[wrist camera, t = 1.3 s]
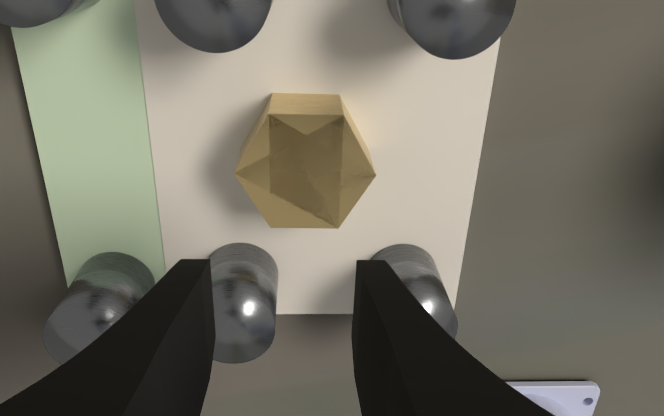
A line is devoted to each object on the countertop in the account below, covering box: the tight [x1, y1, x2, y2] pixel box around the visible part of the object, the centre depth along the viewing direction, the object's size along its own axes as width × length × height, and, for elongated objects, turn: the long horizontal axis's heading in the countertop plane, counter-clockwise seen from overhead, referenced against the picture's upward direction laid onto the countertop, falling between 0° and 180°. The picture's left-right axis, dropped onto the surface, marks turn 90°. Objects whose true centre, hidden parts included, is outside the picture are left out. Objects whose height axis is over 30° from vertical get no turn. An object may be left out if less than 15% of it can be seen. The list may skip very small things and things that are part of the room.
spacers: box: [0, 0, 516, 365], centre depth 18 cm, size 15×14×4 cm
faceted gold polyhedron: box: [234, 93, 376, 229], centre depth 19 cm, size 4×5×2 cm
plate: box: [11, 0, 501, 314], centre depth 20 cm, size 15×16×1 cm
